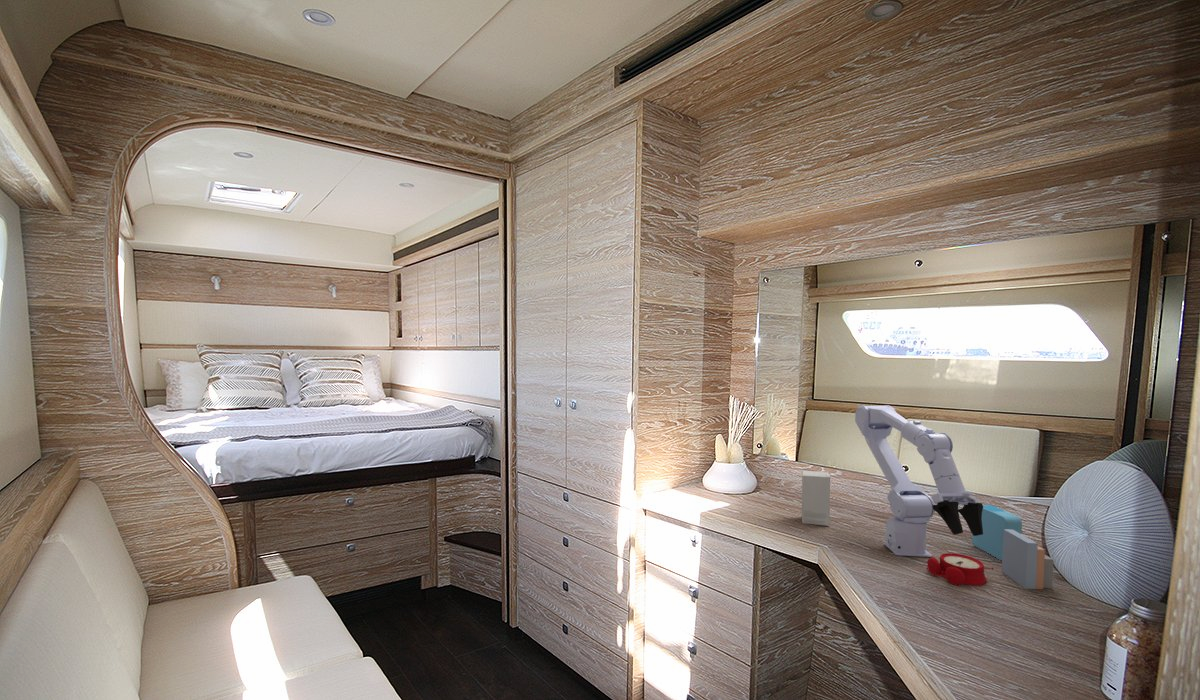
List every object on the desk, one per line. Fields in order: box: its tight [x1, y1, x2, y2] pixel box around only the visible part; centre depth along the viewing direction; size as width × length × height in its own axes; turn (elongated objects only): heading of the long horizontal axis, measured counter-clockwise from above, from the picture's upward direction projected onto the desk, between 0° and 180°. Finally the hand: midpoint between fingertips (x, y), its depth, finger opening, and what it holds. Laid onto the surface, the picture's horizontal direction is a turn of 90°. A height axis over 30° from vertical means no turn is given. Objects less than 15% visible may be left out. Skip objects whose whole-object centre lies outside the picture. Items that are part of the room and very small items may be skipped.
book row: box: [1001, 529, 1054, 590], centre depth 134 cm, size 6×9×11 cm
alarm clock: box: [926, 552, 994, 586], centre depth 135 cm, size 10×6×15 cm
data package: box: [971, 504, 1023, 561], centre depth 150 cm, size 12×4×12 cm, turn 3°
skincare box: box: [801, 470, 831, 527], centre depth 172 cm, size 8×7×16 cm
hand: (968, 534), depth 131 cm, fingers open, 7 cm apart
